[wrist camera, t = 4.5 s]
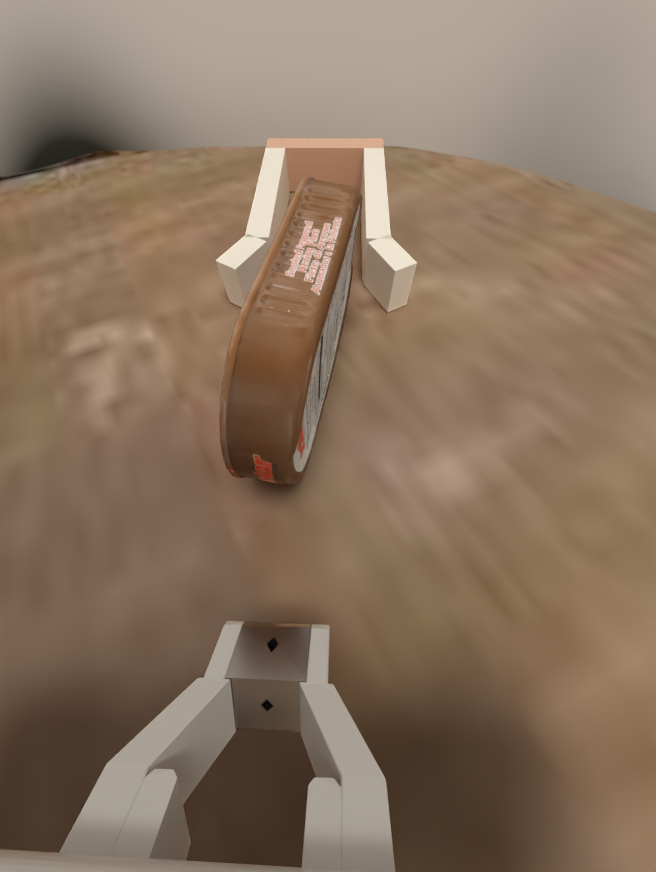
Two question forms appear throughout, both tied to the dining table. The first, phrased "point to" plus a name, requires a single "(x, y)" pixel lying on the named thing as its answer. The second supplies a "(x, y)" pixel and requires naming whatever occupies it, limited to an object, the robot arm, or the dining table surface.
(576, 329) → the dining table surface
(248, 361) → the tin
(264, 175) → the guide channel
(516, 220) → the dining table surface
